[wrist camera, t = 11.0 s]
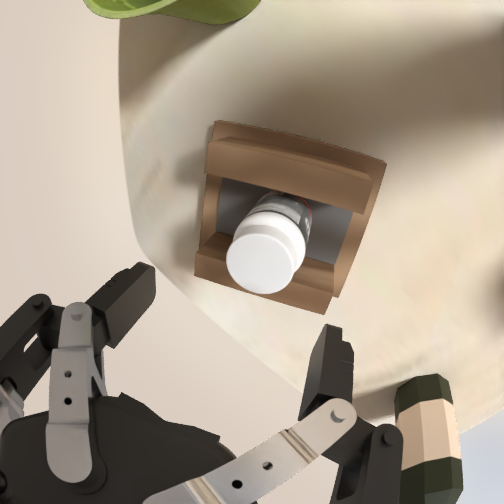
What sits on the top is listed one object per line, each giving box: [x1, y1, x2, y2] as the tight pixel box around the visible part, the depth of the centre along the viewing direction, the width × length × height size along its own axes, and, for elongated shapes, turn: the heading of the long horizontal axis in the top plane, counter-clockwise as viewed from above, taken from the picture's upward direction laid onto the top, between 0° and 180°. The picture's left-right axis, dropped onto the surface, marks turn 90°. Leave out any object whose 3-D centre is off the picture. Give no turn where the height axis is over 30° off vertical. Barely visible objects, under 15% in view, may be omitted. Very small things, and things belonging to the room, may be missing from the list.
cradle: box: [194, 120, 387, 315], centre depth 22 cm, size 13×14×6 cm
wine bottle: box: [394, 374, 463, 504], centre depth 18 cm, size 8×8×30 cm
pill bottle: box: [226, 190, 312, 294], centre depth 20 cm, size 5×5×8 cm
